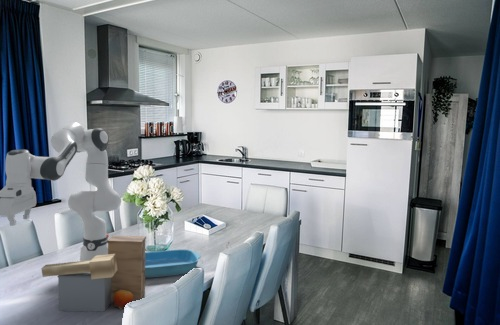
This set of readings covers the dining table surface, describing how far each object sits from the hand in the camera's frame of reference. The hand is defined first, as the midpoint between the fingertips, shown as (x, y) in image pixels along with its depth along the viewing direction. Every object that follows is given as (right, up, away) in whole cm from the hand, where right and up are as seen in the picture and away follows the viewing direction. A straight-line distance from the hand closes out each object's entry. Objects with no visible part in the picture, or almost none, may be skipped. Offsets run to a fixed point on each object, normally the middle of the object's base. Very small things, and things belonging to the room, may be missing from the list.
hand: (19, 221), depth 150 cm
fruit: (+43, -35, 0) cm, 55 cm away
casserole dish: (+51, -32, +39) cm, 72 cm away
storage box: (+28, -35, -1) cm, 44 cm away
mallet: (+27, -17, -3) cm, 32 cm away
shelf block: (+41, -34, +9) cm, 54 cm away
